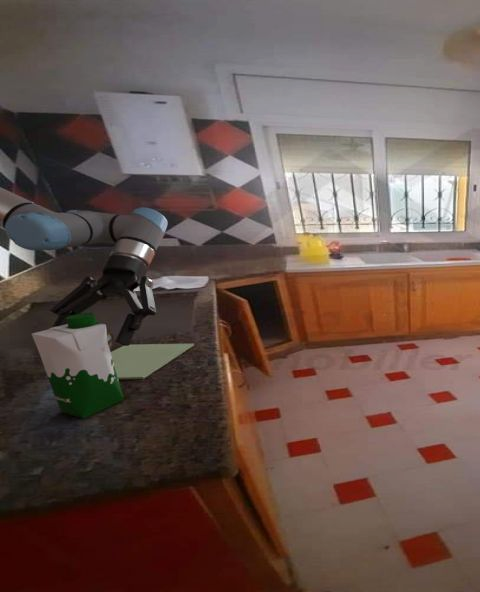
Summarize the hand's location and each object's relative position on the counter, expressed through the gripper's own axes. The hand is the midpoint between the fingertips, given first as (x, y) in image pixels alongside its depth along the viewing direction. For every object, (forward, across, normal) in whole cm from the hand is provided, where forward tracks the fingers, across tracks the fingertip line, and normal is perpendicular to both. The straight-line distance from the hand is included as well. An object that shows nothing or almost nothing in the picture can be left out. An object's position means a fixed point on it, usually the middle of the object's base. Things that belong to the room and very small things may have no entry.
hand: (88, 344), depth 67 cm
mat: (-4, +8, -22) cm, 24 cm away
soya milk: (+11, 0, -8) cm, 14 cm away
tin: (-4, +22, -23) cm, 32 cm away
